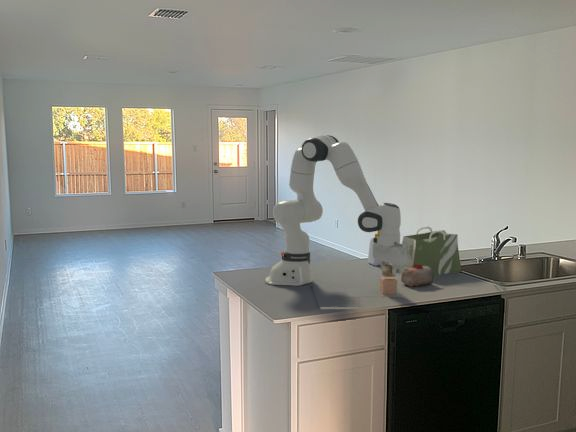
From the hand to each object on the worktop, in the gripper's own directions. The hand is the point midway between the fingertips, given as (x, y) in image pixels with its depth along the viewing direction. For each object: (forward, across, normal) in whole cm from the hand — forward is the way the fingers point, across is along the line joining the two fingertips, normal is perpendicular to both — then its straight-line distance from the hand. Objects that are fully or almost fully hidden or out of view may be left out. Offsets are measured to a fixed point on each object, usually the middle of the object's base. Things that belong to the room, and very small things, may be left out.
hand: (388, 272), depth 241 cm
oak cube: (+2, 0, 0) cm, 2 cm away
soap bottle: (+10, +56, -32) cm, 65 cm away
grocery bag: (+10, +28, -47) cm, 55 cm away
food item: (+10, +9, -23) cm, 27 cm away
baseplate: (+10, +2, +6) cm, 12 cm away
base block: (+10, 0, 0) cm, 10 cm away
